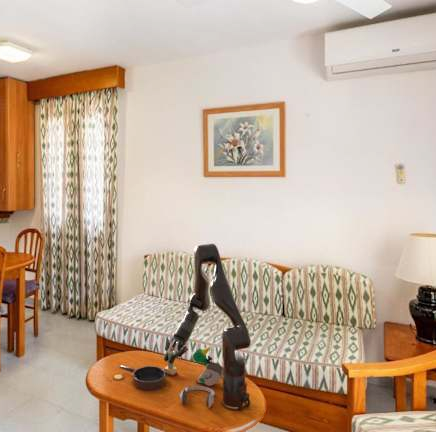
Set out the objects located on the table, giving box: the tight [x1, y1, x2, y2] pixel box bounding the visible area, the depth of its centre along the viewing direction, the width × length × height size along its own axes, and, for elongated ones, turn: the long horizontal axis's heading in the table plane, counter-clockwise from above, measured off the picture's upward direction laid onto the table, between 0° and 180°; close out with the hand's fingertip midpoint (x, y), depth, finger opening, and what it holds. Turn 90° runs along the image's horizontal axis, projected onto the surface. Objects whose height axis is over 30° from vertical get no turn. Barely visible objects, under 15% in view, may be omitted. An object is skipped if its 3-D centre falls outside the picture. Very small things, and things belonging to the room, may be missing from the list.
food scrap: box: [113, 374, 124, 380], centre depth 185 cm, size 4×4×1 cm
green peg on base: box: [163, 351, 178, 378], centre depth 189 cm, size 5×4×11 cm
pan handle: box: [119, 364, 136, 374], centre depth 188 cm, size 11×2×2 cm, turn 58°
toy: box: [192, 346, 223, 389], centre depth 181 cm, size 6×17×20 cm
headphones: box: [169, 385, 216, 409], centre depth 167 cm, size 17×6×20 cm
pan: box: [132, 365, 167, 392], centre depth 181 cm, size 15×15×4 cm
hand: (167, 361), depth 187 cm, fingers closed on green peg on base, 2 cm apart
